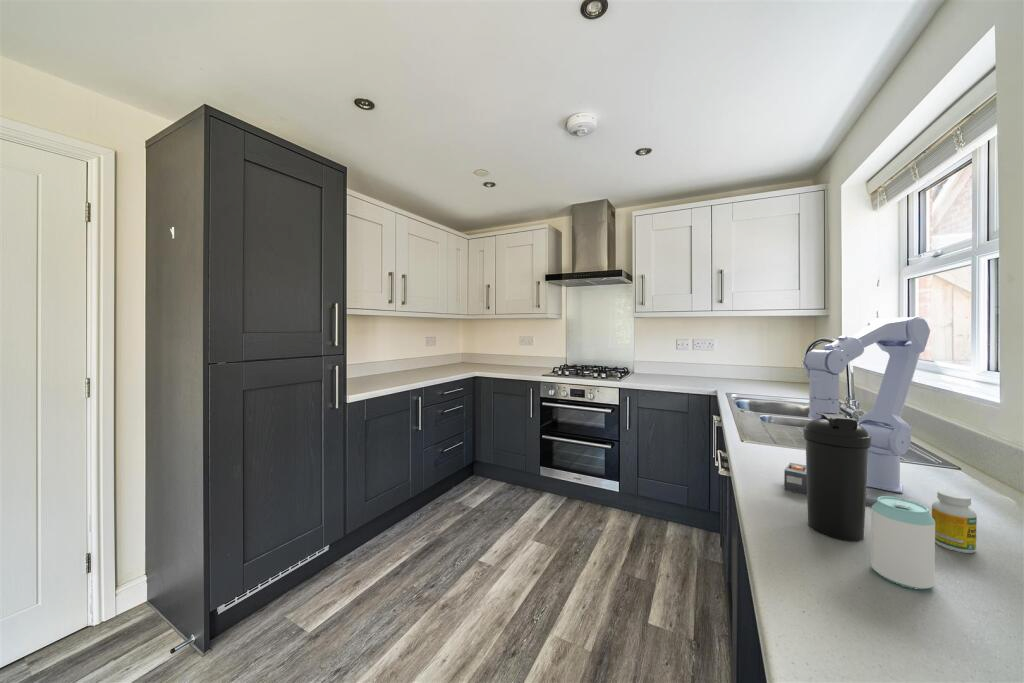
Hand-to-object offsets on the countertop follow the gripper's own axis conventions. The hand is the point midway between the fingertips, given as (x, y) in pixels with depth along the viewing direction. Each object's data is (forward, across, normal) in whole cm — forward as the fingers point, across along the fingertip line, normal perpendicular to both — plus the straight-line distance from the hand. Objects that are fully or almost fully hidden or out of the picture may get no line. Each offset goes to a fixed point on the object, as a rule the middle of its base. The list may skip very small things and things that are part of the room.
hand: (823, 452), depth 94 cm
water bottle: (+10, -22, -5) cm, 25 cm away
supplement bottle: (+10, -14, -20) cm, 27 cm away
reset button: (+8, -2, +5) cm, 10 cm away
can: (+10, -34, -14) cm, 38 cm away
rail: (+10, -1, -7) cm, 12 cm away
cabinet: (+10, -2, +4) cm, 11 cm away
